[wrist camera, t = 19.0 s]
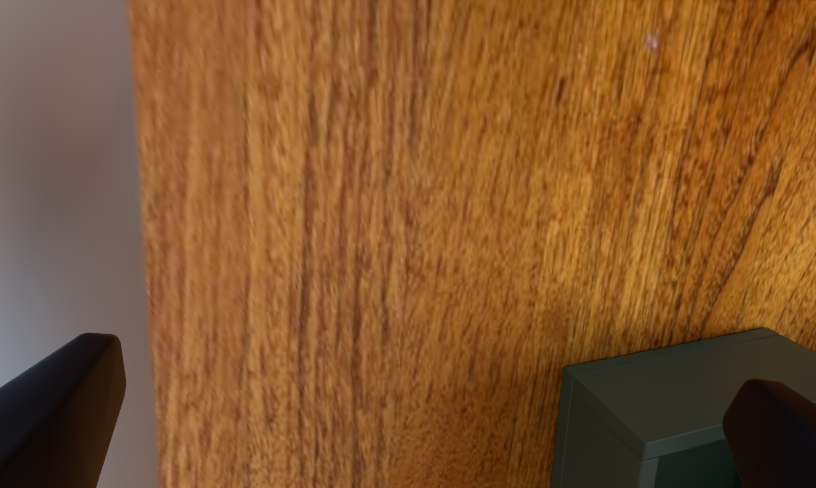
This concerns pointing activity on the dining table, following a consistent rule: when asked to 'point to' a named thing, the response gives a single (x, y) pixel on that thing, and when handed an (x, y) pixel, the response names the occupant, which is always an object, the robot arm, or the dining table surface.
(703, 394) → the box
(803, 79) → the dining table surface
